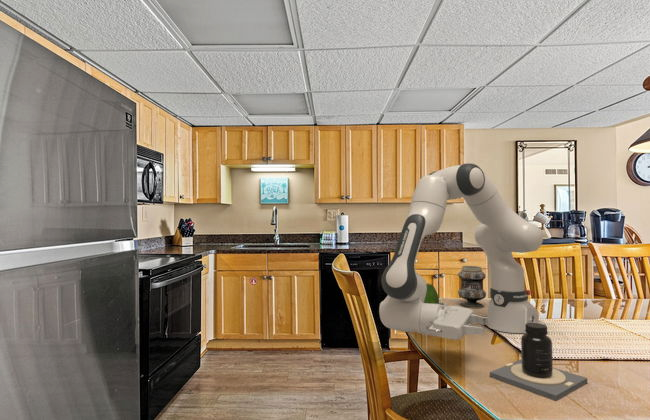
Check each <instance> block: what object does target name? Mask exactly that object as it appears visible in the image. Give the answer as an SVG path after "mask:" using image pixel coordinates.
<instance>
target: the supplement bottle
mask: <svg viewBox="0 0 650 420" xmlns="http://www.w3.org/2000/svg"><path fill="white" fill-rule="evenodd" d="M525 332H526V333H523V335H522V336H521V338H520V339H521V340H520V343H521V344H520V347H521V353H520V354H521V359H522V371H523V372H524V373H525V374H527V375H529V376H532V377H536V378H549V377H551V376H552V374H553V368H554V366H553V365H554V364H553V341H552V339H551V337H550V336H548V334H549V332H548V326H547V324H546V325H543V324H540V323H526V324H525Z"/></svg>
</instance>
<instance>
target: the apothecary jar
mask: <svg viewBox="0 0 650 420" xmlns="http://www.w3.org/2000/svg"><path fill="white" fill-rule="evenodd" d="M457 276H458V277H459V278H460V288H459V289H458V290H457V294H458V296H459V298H461V299H463V300H466V301H464V302H463V303H461V304H460V307H464V308H469V309H481V308H484V307H485V306H484V304H482V303H480V302H479V301H482V300H484V299H485V298H486V296H487V292H486V291H485V290H484V280H485V278H486V273H485V272H483V269H482V267H481V266H478V265H477V266H476V265H462V266H461V270H460V271H459V272H458V274H457Z"/></svg>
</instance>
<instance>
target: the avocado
mask: <svg viewBox="0 0 650 420" xmlns="http://www.w3.org/2000/svg"><path fill="white" fill-rule="evenodd" d="M426 284H427V293H426V298H425V302H424V303H429V304H437V303H440V299H439V298H440V296H439V293H438V292H437V289H436V288H435V286H434V285H433V284H432V283H426Z"/></svg>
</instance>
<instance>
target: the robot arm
mask: <svg viewBox="0 0 650 420" xmlns="http://www.w3.org/2000/svg"><path fill="white" fill-rule="evenodd" d="M460 198H463V199H464V201H465V203H466V205H467V207H468V208H469V209H470V210H471V213H472V214H473V215H474V217H475V218H476V220H477V221H478V222H480V223H481V224H479V225H478V226H477V227H476V229H475V233H474V239H475V242H476V244H477V245H478V246H479V247H480V248H481V249H482V250H483V252H484V254H485V256H486V257H487V260H488V263H489V267H490V268H489V269H490V279H491V280H490V281H491V283H490V284H491V288H490V289H489V294H490V295H489V296H490V300H489V301H488V303H487V312H486V313H487V315H486V316H481V315H477V314H474V310H473V308H467V307H463V306H458V305H457V306H456V305H448V304H447V303H446V302H439V303H437V304H429V303H424V302H425V298H426V293H427V284H428V283H427V281H426V280H425V279H424V277H422V275H420V274H419V273H417V272H416V260H417V257H418V253H419V250H420V247H421V244H422V241H423V239H424V238H425V237H426V236H430V235H433V234H435V233H437V232H438V231H439V230H440V228H441V226H442V224H443V221H444V218H445V213H446V208H447V202H448V201H450V200H451V201H453V200H457V199H460ZM543 236H544V235H543V232H542V230H541V228H540V227H539V226H538V225H537V224H536V223H535V224H534V223H532V222H530V221H528V220H526V219H524V218H523V217H522V216H520V215H519V214H518V213H516V212H515V211H514V210H513V209H512V208H511V207H509V205H508V204H507V202H506V201H505V200H504V198H503V197H502V195H501V194H500V192H499V191H498V189H497V188H496V185H495V184H494V183H493V182H492V180H491V179H490V177H488V175H487V173H485V171H483V170H482V168H481V167H480V166H479V165H477V164H475V163H469V162H467V163H463V164H457V165H452V166H448V167H446V168H445V167H444V168H442V169H439V170H436V171H432V172H430V173H429V174H427V175H424V176H422V177H421V178H420V179H419V181H418V182H417V184H416V186H415V189H414V190H413V194H412V198H411V200H410V204H409V208H408V213H407V216H406V220H405V221H404V224H403V226H402V229H401V232H400V235H399V238H398V240H397V244H396V247H395V250H394V253H393V256H392V258H391V260H390V262H389V263H388V265H387V266H386V268H385V269H384V271H383V273H382V275H381V280H380V281H381V287H382V289H383V291H384V293H385V294H386V295H387V296H386V297H385V298H384V300H382V301H381V302H380V303H379V308H378V315H379V319H380V322H381V323H382V324H383V325H384V327H385V328H387V329H391V330H394V331H399V332H404V333H405V332H406V333H413V332H414V333H418V334H420V335H426V336H433V337H439V338H443V339H448V340H453V341H458V340H459V341H460V340H462V339H463V337H464V335H465V336H466V335H467V336H473V335H479V336H483V334H484V333H485V331H484V330H485V329H484V326H487V327H488V328H489V329H492V330H494V331H498V332H503V333H510V334H511V333H512V334H526V332H525V324H526V323H540V324H543V325H546V326H547V324H546V322H543V321H542V320H539V312H538V309H537V307H536V306H534V305H533V304H532V303H531V301H529V298H528V296H531V293H532V291H531V289H526V288H525V269H524V267H523V266H522V265H521V264H520V263H519V262H518V261H517V260H516V259H515V258H514V256H513V253H519V254H524V253H525V254H526V253H530V252H536V251H538V250H539V248H541V246H542V244H543V241H544V237H543ZM472 324H481V326H480V325H475V326H474V325H472ZM482 325H483V326H482Z"/></svg>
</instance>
